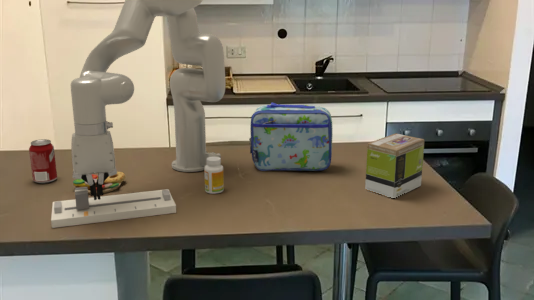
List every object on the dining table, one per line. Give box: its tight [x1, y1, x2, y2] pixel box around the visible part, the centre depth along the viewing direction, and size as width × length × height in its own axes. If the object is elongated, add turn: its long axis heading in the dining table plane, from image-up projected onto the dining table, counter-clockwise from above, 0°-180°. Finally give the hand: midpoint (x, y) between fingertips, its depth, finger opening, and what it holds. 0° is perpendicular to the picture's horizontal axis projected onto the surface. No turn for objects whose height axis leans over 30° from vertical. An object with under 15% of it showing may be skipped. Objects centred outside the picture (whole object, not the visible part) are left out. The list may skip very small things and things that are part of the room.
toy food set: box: [72, 171, 126, 195], centre depth 155 cm, size 13×13×3 cm
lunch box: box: [249, 102, 333, 172], centre depth 170 cm, size 26×11×21 cm, turn 84°
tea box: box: [364, 132, 425, 199], centre depth 155 cm, size 15×10×15 cm, turn 134°
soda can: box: [28, 138, 58, 184], centre depth 158 cm, size 7×7×12 cm
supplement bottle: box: [203, 157, 225, 195], centre depth 152 cm, size 5×5×10 cm
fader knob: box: [74, 187, 90, 210], centre depth 136 cm, size 3×5×4 cm, turn 19°
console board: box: [50, 188, 177, 229], centre depth 139 cm, size 30×12×4 cm, turn 109°
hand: (97, 197), depth 137 cm, fingers closed
